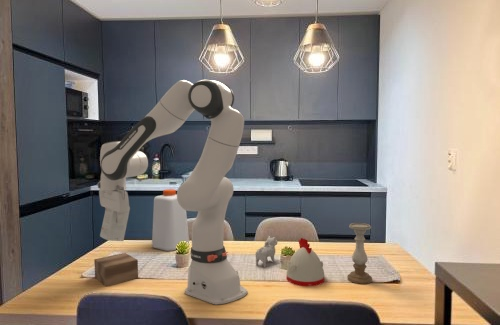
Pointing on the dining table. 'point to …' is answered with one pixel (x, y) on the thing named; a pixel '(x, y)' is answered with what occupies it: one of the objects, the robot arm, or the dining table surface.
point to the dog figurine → (266, 251)
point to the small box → (113, 226)
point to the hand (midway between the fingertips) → (114, 221)
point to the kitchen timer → (305, 266)
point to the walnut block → (116, 269)
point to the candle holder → (359, 255)
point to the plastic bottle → (168, 222)
